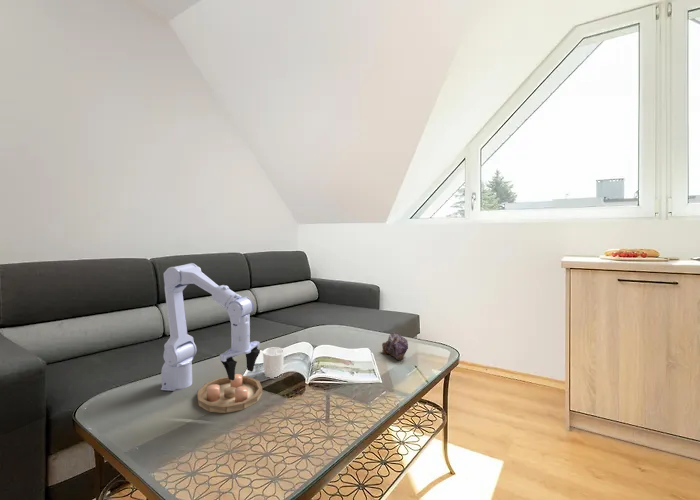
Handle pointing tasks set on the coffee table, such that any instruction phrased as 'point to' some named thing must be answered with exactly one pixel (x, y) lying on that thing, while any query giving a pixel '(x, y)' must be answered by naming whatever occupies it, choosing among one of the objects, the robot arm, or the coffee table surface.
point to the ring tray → (229, 395)
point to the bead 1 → (213, 393)
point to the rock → (395, 346)
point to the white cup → (273, 361)
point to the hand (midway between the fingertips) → (240, 374)
